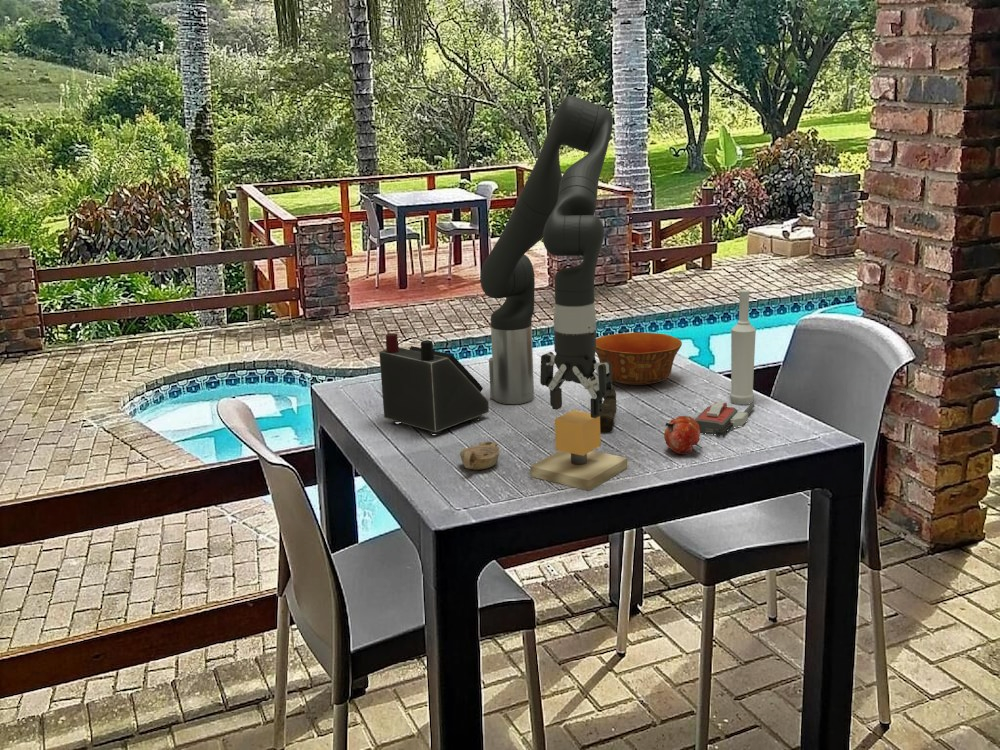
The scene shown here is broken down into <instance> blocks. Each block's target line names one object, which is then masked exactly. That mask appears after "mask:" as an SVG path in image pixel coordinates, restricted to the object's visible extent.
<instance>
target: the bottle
mask: <svg viewBox="0 0 1000 750" xmlns="http://www.w3.org/2000/svg"><path fill="white" fill-rule="evenodd" d="M738 293H739V295H738V296H739V298H738V299H739V306H738V307H739V309H738V310H739V311H738V321H737V323H736V324H735V325H734V326H733V327H731V330H730V334H731V335H730V337H731V338H730V339H731V340H730V342H731V343H730V348H731V350H730V351H731V352H730V353H731V354H730V358H731V359H730V360H731V361H730V362H731V363H730V367H731V370H730V373H731V374H730V376H731V377H730V378H731V379H730V382H731V383H730V385H731V387H730V388H731V389H730V393H729V400H730V402H731V404H733V403H734V404H733V405H737V404H748V405H750V404H749V403H751V404H753V402H754V400H755V399H754V398H755V397H754V396H755V394H754V373H755V371H754V370H755V351H756V350H755V349H756V334H757V333H756V331H757V329H756V328H755V327H754V326H753V325H752V324H751V321H749V313H750V312H749V310H750V304H749V303H750V290H749V289H740V290H739V292H738Z"/></svg>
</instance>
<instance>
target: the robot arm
mask: <svg viewBox="0 0 1000 750" xmlns="http://www.w3.org/2000/svg"><path fill="white" fill-rule="evenodd" d="M613 123H614V116H613V113H612V112H611V111H610V110H609V109H608V108H606V107H604V106H602V105H598V104H597V103H594V102H591V101H588V100H586V99H583V98H580V97H577V96H573V95H568V96H566V97H564V98H563V100H562V101H561V102H560V104H559V106H558V108H557V109H556V112H555V114H554V116H553V118H552V121H551V124H550V126H549V128H548V131H547V134H546V137H545V140H544V142H543V145H542V147H541V150H540V152H539V155H538V157H537V160H536V162H535V164H534V165H533V168H532V170H531V172H530V174H529V176H528V178H527V180H526V182H525V184H524V185H523V188H522V190H521V192H520V194H519V196H518V198H517V201H515V202H516V203H515V205H514V207H513V210H512V212H511V214H510V216H509V218H508V221H507V222H506V224H505V226H504V229H503V231H502V232H501V235H500V236H499V238H498V239H497V241H496V242H495V245H494V246H493V247H492V249H491V251H490V253H489V254H488V256H486V258H485V260H484V262H483V264H482V267H481V272H480V278H479V279H480V287H481V289H482V291H483V293H484V294H485V295H486V296H487V297H489V298H491V299H505V301H504V302H503V304H502V305H501V306H500V307H499V308H497V309H496V310H495V311H493V312H492V313H491V315H490V333H491V334H490V336H491V357H489V359H488V370H489V371H488V372H489V374H488V375H489V390H490V392H489V393H490V394H489V395H490V399H491V400H494V401H495V402H497V403H499V404H505V405H519V404H525V403H529V402H531V401H533V400H534V399H535V387H534V386H535V385H534V382H535V381H534V379H535V378H534V377H535V376H534V356H533V354H534V353H533V350H534V349H533V331H532V330H533V329H532V327H533V326H532V325H533V324H532V322H533V321H532V318H533V315H534V312H535V292H536V291H535V283H536V282H535V281H536V280H535V279H536V278H535V270H534V266H533V263H532V261H531V260H530V258H529V257H528V256H527V255H526V253H527V252H529V250H530V249H532V248H533V247H534V246H535V245H536V244H537V243H539V242H540V241H541V240H542V242H543V246H544V248H545V250H546V251H547V252H548V254H550V255H552V256H556V257H569V256H570V257H581V256H582V257H583V259H582V262H581V263H579V264H578V265H576V266H575V265H574V266H571V267H566V268H562V269H559V270H557V271H556V273H555V275H554V311H553V331H554V332H553V335H554V336H553V339H554V340H553V341H554V343H553V344H554V345H553V346H554V347H553V348H554V352H555V354H554V353H553V352H552V351H549V352H546V353H544V354H542V355H541V356H540V378H539V379H540V380H539V382H540V384H541V386H545V387H547V388H548V390H549V403H550V406H551V409H552V410H554V411H558V410H560V409H561V408H562V407H563V399H562V398H563V395H562V394H563V393H562V392H563V389H562V388H561V387H562V385H563V384H564V382H574V383H575V384H581V385H582V387H583V388H584V389H585V390H587V392H588V393H589V396H590V397H591V398H590V413H591V418H597V417H599V416H600V414H602V411H603V408H602V404H603V399H604V397H605V396H607V395H609V394H611V393H612V392H613V390H612V388H613V380H612V372H611V363H610V362H605V363H600V362H597V360H596V356H595V355H596V338H597V315H596V305H595V278H596V277H595V276H596V269H597V264H598V259H599V256H600V252H601V249H602V246H603V242H604V239H605V228H604V224H603V222H602V221H601V219H600V218H598V216H596V215H595V213H596V210H597V200H598V191H599V190H598V188H599V182H600V181H599V180H600V176H601V173H602V170H603V166H604V164H605V163H604V162H605V159H606V157H607V156H606V155H607V152H608V148H609V144H610V139H611V136H612V131H613V127H614V126H613V125H614V124H613ZM563 145H564V146H567V147H569V148H572V149H575V150H577V151H580V152H583V153H587V154H586V155H584V156H583V157H582V158H580V159H579V160H577V161H576V162H574V163H572V164H571V165H570V166H568V168H567V169H566V170H565V171H564V173H563V174H562V170H561V163H560V149H561V146H563ZM554 366H556V369H557V372H555V374H554V368H555V367H554ZM595 371H596V373H595ZM597 375H598V376H597ZM589 380H590V381H589Z"/></svg>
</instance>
